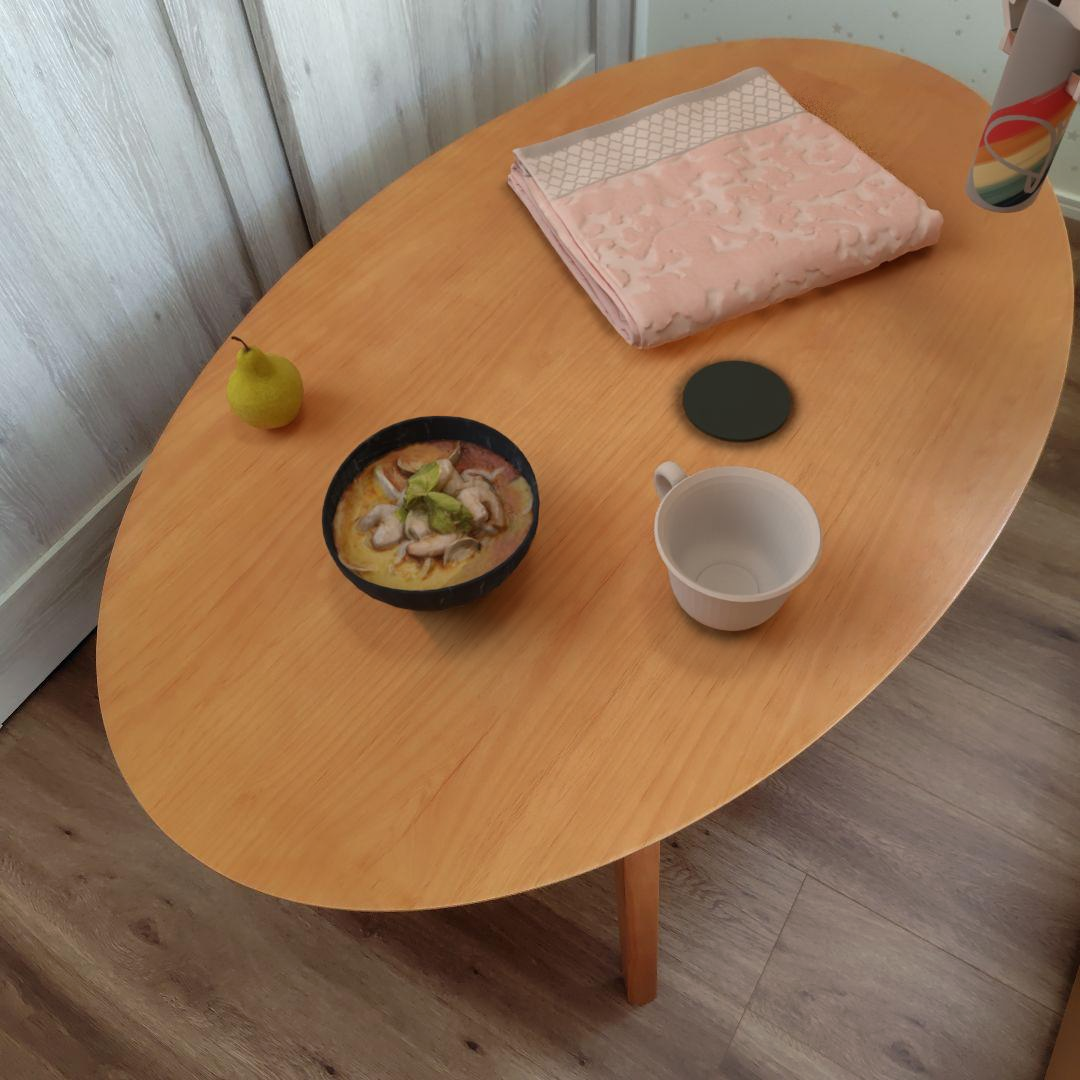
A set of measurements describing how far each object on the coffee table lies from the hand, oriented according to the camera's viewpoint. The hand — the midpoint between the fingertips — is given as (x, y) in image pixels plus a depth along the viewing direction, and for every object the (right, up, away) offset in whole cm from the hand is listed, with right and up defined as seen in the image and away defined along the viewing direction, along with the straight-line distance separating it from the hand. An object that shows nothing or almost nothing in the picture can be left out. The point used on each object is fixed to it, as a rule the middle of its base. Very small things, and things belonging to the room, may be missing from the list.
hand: (1044, 73), depth 69 cm
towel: (-19, +1, +35) cm, 39 cm away
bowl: (-45, -36, +11) cm, 59 cm away
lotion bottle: (+1, -6, +8) cm, 10 cm away
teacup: (-23, -38, +8) cm, 46 cm away
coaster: (-19, -21, +19) cm, 34 cm away
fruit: (-63, -23, +22) cm, 70 cm away
